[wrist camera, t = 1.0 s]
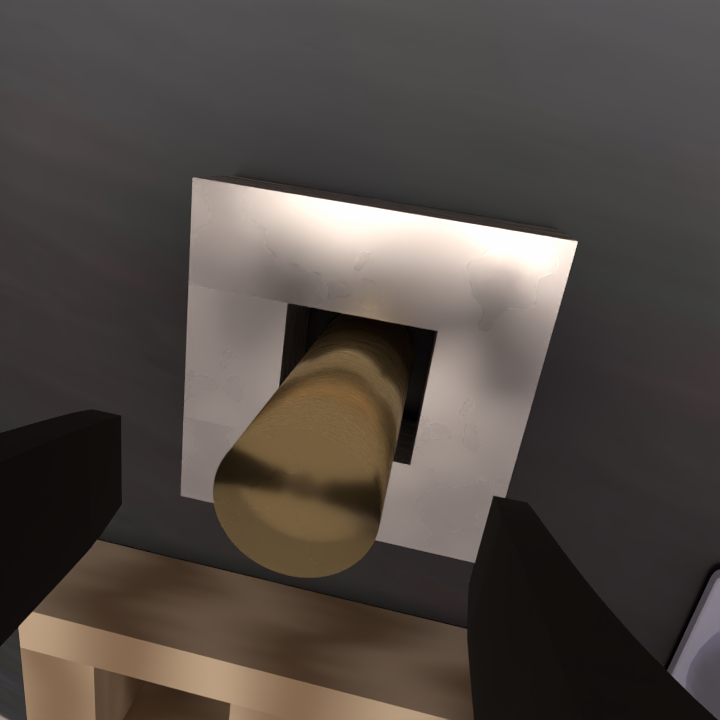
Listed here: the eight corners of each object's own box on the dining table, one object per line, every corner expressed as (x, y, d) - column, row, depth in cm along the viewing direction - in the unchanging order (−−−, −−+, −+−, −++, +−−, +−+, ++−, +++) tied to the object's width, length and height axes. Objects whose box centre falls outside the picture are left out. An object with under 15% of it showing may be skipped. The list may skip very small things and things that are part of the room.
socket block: (556, 229, 16) (577, 241, 14) (481, 509, 20) (486, 565, 17) (234, 175, 17) (192, 177, 15) (217, 451, 21) (180, 495, 18)
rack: (592, 659, 21) (622, 764, 17) (533, 809, 24) (547, 925, 21) (86, 537, 23) (16, 607, 20) (92, 689, 26) (32, 775, 23)
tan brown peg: (422, 316, 18) (394, 449, 9) (404, 405, 19) (366, 594, 11) (326, 299, 18) (217, 412, 10) (315, 387, 19) (208, 556, 11)
